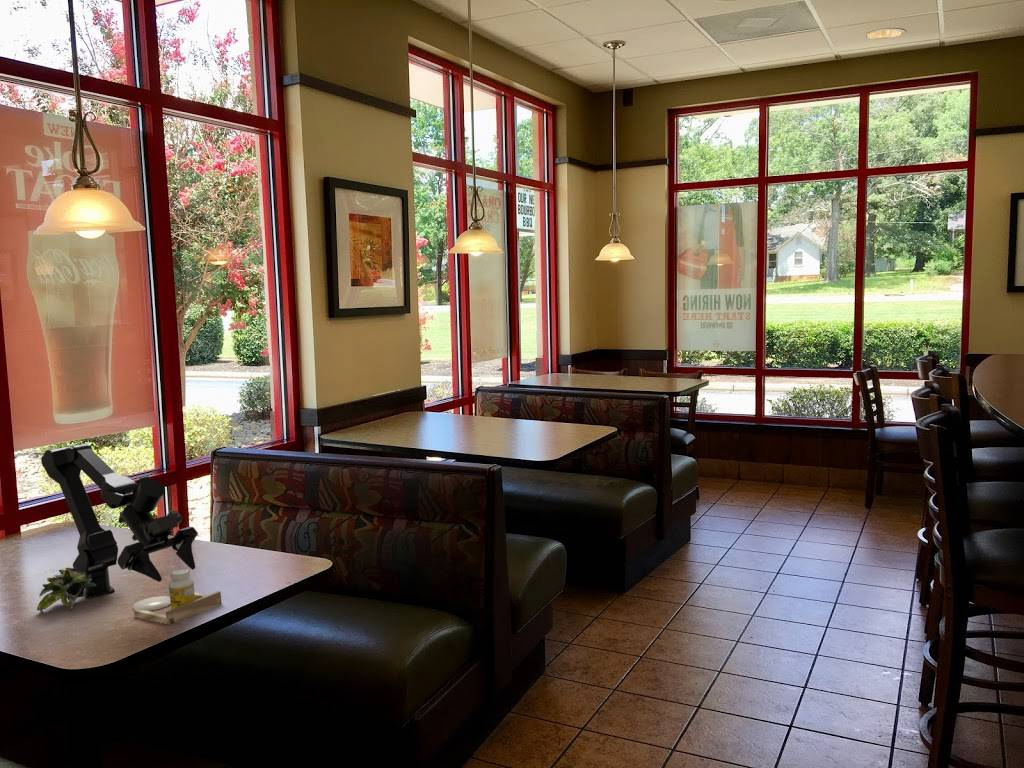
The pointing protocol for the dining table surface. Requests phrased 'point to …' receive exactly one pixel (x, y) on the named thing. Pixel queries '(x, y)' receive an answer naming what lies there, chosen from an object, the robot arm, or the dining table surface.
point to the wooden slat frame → (183, 609)
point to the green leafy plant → (65, 588)
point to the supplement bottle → (181, 588)
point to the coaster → (152, 603)
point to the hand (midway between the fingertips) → (177, 574)
